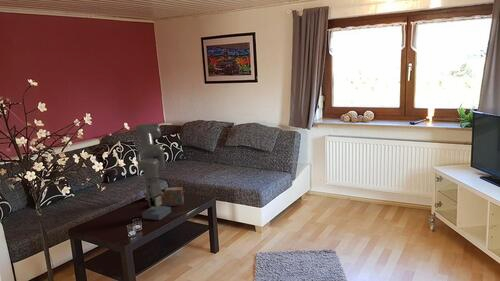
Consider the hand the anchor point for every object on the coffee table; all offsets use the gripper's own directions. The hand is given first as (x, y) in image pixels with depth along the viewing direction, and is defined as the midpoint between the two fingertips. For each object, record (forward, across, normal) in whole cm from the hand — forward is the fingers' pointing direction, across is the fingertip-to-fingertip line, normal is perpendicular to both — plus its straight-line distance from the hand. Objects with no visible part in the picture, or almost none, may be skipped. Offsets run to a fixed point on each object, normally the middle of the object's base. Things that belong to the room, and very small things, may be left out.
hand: (155, 204), depth 262 cm
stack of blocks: (+9, +21, +4) cm, 23 cm away
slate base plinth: (+8, 0, 0) cm, 8 cm away
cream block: (+1, 0, 0) cm, 1 cm away
